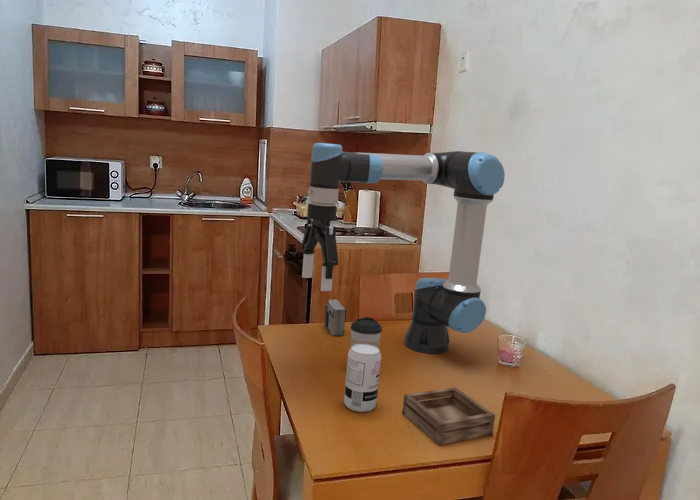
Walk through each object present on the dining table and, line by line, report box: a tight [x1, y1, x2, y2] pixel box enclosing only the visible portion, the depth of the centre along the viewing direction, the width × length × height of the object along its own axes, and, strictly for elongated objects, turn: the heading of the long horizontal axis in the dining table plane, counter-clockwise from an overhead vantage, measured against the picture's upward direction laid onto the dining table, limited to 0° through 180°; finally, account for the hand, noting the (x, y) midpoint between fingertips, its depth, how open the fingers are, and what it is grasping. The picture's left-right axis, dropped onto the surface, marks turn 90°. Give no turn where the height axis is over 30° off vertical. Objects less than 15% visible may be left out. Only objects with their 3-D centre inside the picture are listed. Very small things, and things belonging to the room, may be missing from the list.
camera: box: [324, 299, 347, 337], centre depth 193 cm, size 11×6×10 cm, turn 14°
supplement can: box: [343, 344, 382, 413], centre depth 139 cm, size 8×8×15 cm
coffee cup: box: [349, 316, 383, 350], centre depth 161 cm, size 9×9×15 cm
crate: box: [401, 387, 496, 446], centre depth 134 cm, size 15×15×5 cm
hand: (316, 283), depth 148 cm, fingers open, 13 cm apart
